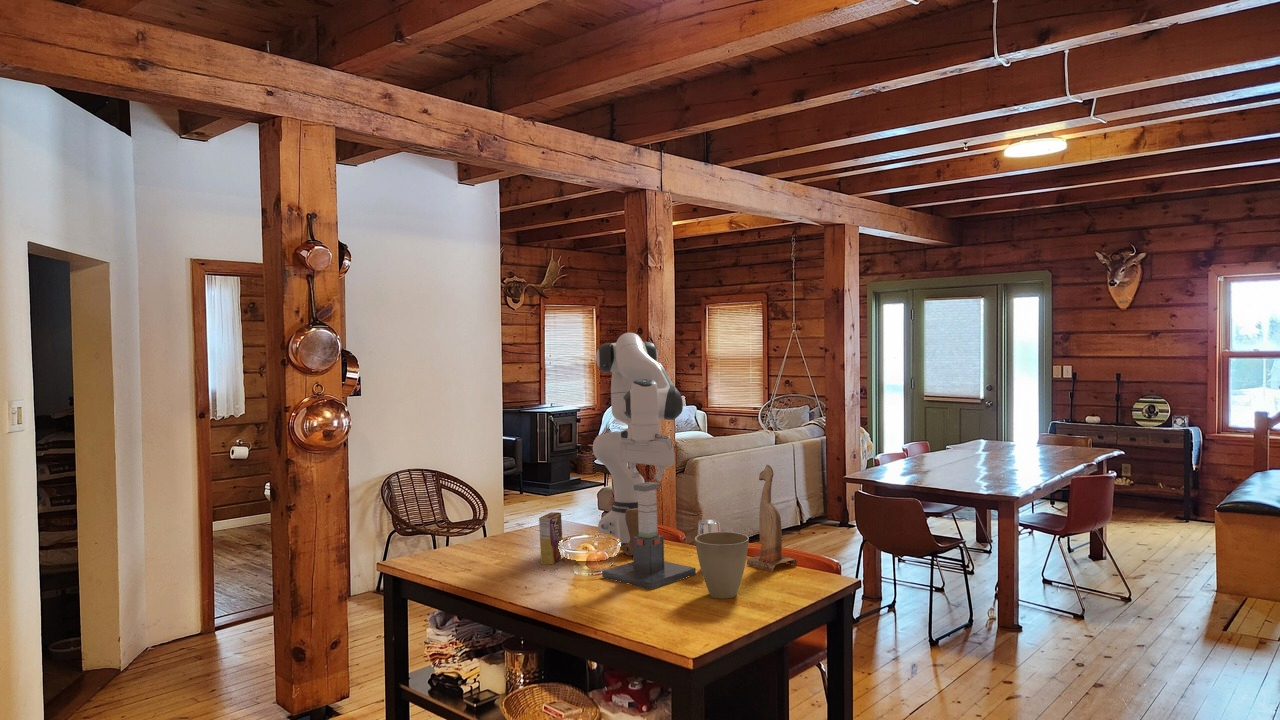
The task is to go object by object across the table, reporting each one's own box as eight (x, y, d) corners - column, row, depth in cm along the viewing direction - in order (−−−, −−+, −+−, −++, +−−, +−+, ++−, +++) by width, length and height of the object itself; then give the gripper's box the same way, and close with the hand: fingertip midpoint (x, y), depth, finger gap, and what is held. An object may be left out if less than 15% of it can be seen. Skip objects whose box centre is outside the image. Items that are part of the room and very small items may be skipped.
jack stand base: (602, 577, 248) (601, 537, 248) (647, 563, 262) (646, 526, 262) (650, 589, 234) (649, 547, 234) (695, 574, 249) (694, 535, 248)
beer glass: (713, 574, 249) (712, 524, 249) (694, 570, 253) (693, 522, 253) (725, 568, 254) (724, 520, 254) (706, 565, 259) (705, 518, 258)
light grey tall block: (635, 548, 247) (633, 484, 247) (650, 544, 252) (649, 481, 252) (645, 551, 244) (644, 486, 244) (661, 546, 249) (660, 483, 249)
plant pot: (687, 591, 232) (686, 535, 232) (734, 584, 237) (733, 529, 237) (710, 606, 218) (709, 546, 218) (759, 599, 223) (758, 540, 223)
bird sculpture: (769, 559, 265) (764, 461, 265) (798, 565, 256) (793, 463, 256) (746, 566, 258) (740, 465, 258) (774, 572, 249) (769, 467, 249)
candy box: (552, 557, 274) (550, 511, 274) (563, 558, 272) (562, 512, 272) (539, 564, 265) (538, 517, 265) (551, 565, 264) (550, 517, 264)
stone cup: (643, 544, 288) (642, 502, 288) (667, 550, 280) (666, 506, 279) (611, 553, 278) (610, 508, 277) (635, 559, 269) (634, 513, 269)
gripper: (678, 434, 243) (679, 480, 243) (629, 430, 257) (630, 474, 257) (664, 436, 238) (665, 483, 238) (614, 432, 252) (615, 477, 253)
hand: (646, 478), depth 248 cm, fingers open, 8 cm apart
